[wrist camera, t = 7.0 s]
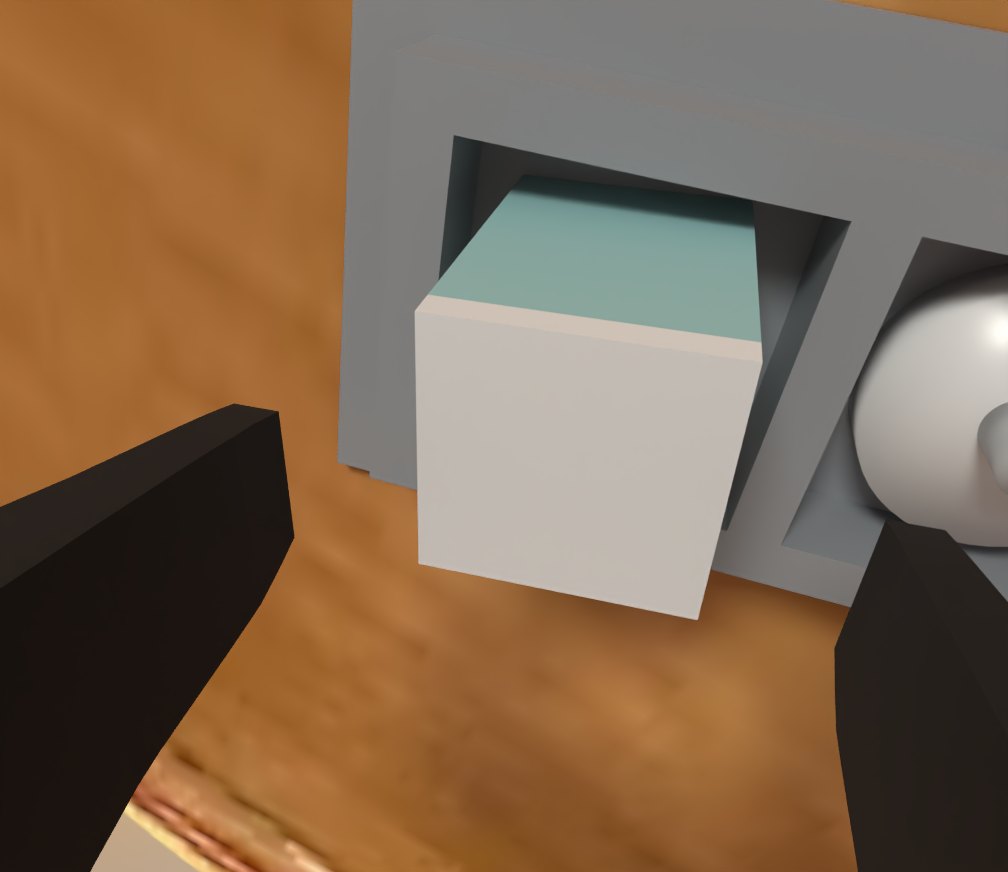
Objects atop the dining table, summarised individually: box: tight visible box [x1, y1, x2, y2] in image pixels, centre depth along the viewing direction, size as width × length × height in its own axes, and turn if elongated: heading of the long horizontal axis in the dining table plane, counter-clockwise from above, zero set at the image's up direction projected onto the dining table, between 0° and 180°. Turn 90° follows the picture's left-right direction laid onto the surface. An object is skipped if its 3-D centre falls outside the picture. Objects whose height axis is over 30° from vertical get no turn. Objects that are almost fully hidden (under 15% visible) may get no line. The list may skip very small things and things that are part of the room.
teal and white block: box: [415, 175, 763, 620], centre depth 13 cm, size 4×4×6 cm
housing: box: [337, 0, 1008, 607], centre depth 14 cm, size 18×11×3 cm, turn 81°
